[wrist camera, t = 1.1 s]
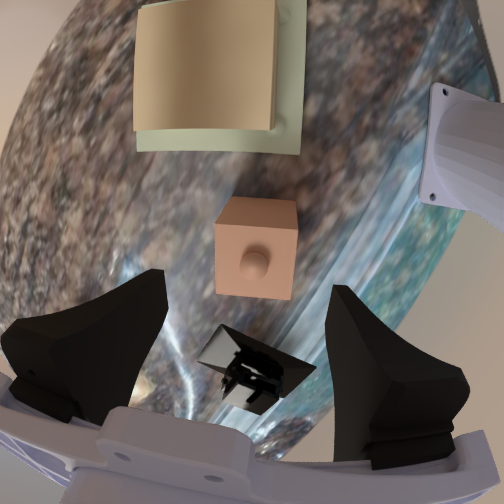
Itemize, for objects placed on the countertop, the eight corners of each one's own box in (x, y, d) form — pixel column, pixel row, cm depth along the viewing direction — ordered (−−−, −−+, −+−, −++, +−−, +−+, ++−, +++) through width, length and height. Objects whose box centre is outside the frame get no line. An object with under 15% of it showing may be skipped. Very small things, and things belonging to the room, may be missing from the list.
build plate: (305, 1, 13) (307, -6, 12) (299, 153, 17) (300, 155, 16) (147, 9, 14) (139, 4, 13) (142, 149, 18) (134, 152, 17)
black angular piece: (335, 362, 25) (341, 403, 21) (290, 402, 28) (289, 439, 24) (208, 303, 24) (193, 342, 19) (177, 355, 27) (162, 392, 23)
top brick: (295, 200, 19) (298, 233, 14) (289, 257, 21) (290, 304, 16) (231, 196, 19) (212, 226, 14) (230, 253, 21) (214, 297, 16)
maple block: (279, 13, 13) (275, -5, 10) (274, 128, 16) (269, 130, 13) (161, 21, 14) (138, 9, 11) (158, 126, 17) (133, 131, 14)
